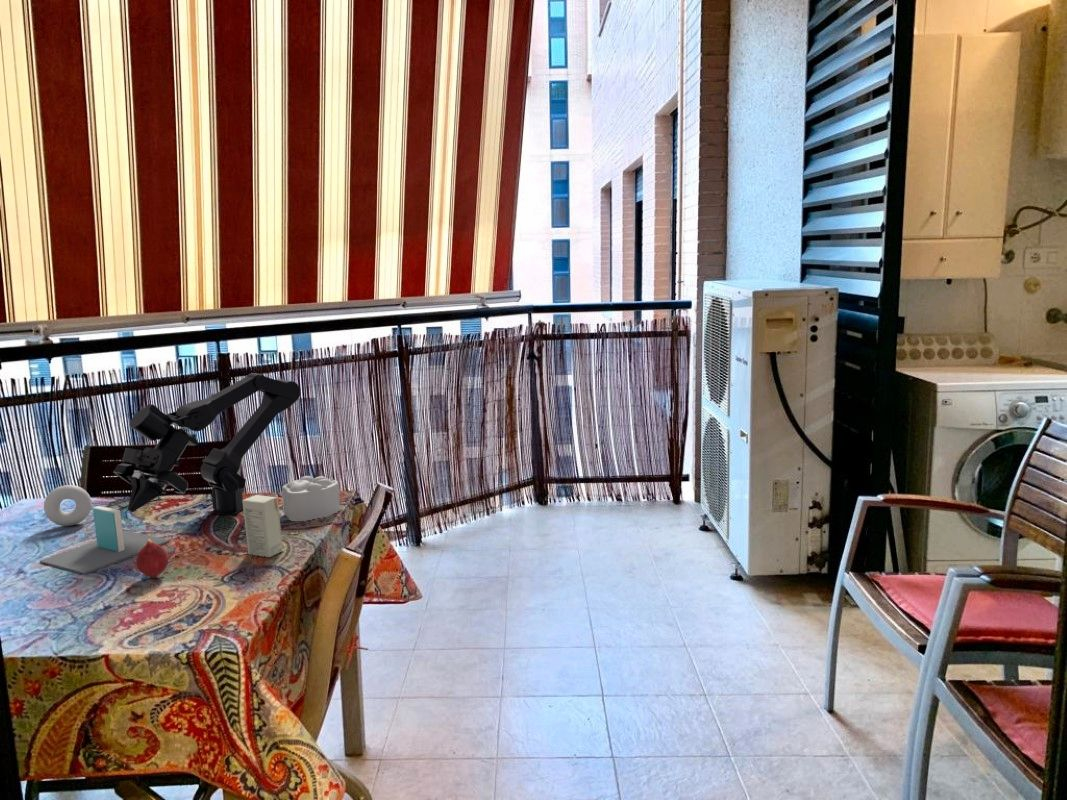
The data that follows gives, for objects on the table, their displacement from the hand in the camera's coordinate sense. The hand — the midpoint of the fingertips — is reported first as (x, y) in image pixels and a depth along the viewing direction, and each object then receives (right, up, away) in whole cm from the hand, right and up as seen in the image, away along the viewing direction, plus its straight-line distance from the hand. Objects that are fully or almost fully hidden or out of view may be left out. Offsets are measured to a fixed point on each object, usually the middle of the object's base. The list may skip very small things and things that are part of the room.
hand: (130, 511), depth 177 cm
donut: (-21, -5, +13) cm, 25 cm away
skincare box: (+32, -8, -6) cm, 34 cm away
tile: (-2, -3, -5) cm, 6 cm away
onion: (+14, -11, -19) cm, 26 cm away
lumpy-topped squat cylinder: (+36, -3, +19) cm, 41 cm away
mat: (-3, -8, -4) cm, 10 cm away
